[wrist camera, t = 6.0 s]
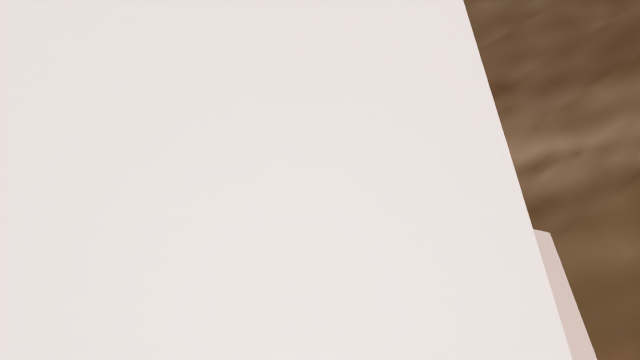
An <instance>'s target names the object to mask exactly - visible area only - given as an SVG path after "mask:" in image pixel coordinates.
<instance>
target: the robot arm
mask: <svg viewBox="0 0 640 360" xmlns="http://www.w3.org/2000/svg"><path fill="white" fill-rule="evenodd" d="M533 231H534V235H535V238H536V241H537V244H538V248H539V251H540V254H541V258H542V261H543V264H544V267H545V271H546V274H547V277H548V281H549V284H550V287H551V290H552V294H553V297H554V300H555V304H556V307H557V310H558V313H559V317H560V320H561V323H562V326H563V330H564V333H565V336H566V340H567V343H568V346H569V349H570V353H571V356H572V359H573V360H597V358H596V355H595V353H594V350H593V347H592V345H591V342H590V339H589V337H588V334H587V331H586V329H585V326H584V323H583V321H582V318H581V315H580V313H579V310H578V307H577V305H576V302H575V299H574V297H573V294H572V291H571V289H570V286H569V283H568V281H567V278H566V275H565V273H564V270H563V267H562V265H561V262H560V259H559V257H558V254H557V251H556V249H555V246H554V243H553V240H552V238H551V235H550V233H548V232H543V231H539V230H534V229H533Z"/></svg>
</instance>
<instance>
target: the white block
mask: <svg viewBox="0 0 640 360" xmlns="http://www.w3.org/2000/svg"><path fill="white" fill-rule="evenodd" d="M0 360H573V359H572V356H571V353H570V349H569V346H568V343H567V340H566V336H565V333H564V330H563V326H562V323H561V320H560V317H559V313H558V310H557V307H556V304H555V300H554V297H553V294H552V290H551V287H550V284H549V281H548V277H547V274H546V271H545V267H544V264H543V261H542V258H541V254H540V251H539V248H538V244H537V241H536V238H535V235H534V231H533V228H532V225H531V222H530V218H529V215H528V212H527V208H526V205H525V202H524V199H523V195H522V192H521V189H520V185H519V182H518V179H517V176H516V172H515V169H514V166H513V163H512V159H511V156H510V153H509V149H508V146H507V143H506V140H505V136H504V133H503V130H502V126H501V123H500V120H499V117H498V113H497V110H496V107H495V103H494V100H493V97H492V94H491V90H490V87H489V84H488V81H487V77H486V74H485V71H484V67H483V64H482V61H481V58H480V54H479V51H478V48H477V44H476V41H475V38H474V35H473V31H472V28H471V25H470V22H469V18H468V15H467V12H466V8H465V5H464V2H463V0H0Z"/></svg>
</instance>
